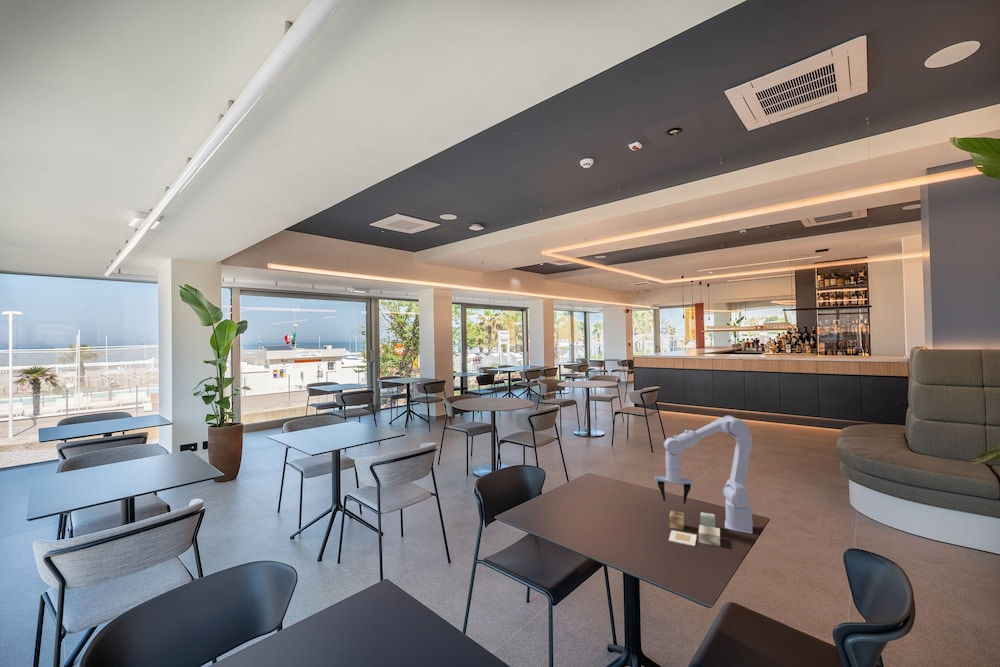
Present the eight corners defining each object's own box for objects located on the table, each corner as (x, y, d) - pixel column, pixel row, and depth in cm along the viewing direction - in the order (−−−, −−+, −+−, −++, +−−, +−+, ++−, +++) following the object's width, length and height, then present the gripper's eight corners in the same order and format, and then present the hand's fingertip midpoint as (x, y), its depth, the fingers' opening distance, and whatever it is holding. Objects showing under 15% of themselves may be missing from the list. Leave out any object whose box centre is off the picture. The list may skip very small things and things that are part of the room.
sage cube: (714, 526, 166) (714, 514, 166) (714, 532, 161) (714, 519, 161) (701, 524, 168) (700, 512, 168) (700, 529, 164) (700, 516, 164)
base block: (720, 538, 156) (719, 528, 156) (720, 547, 150) (719, 536, 150) (699, 535, 159) (699, 524, 159) (698, 543, 153) (698, 532, 153)
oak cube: (684, 525, 167) (684, 513, 168) (683, 530, 163) (682, 517, 163) (671, 523, 170) (670, 510, 170) (669, 527, 165) (669, 515, 166)
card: (696, 536, 158) (696, 534, 158) (695, 546, 150) (695, 545, 150) (671, 531, 162) (671, 529, 162) (668, 541, 154) (668, 539, 154)
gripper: (692, 467, 169) (693, 500, 169) (654, 463, 175) (655, 495, 175) (693, 472, 163) (694, 506, 163) (654, 468, 168) (655, 501, 168)
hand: (674, 501), depth 168 cm, fingers open, 7 cm apart
